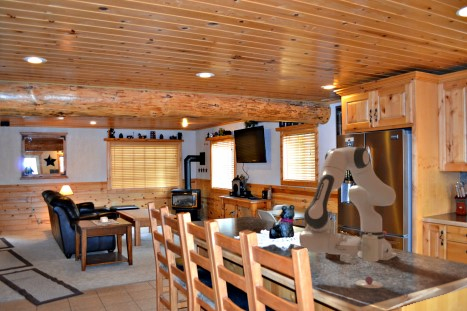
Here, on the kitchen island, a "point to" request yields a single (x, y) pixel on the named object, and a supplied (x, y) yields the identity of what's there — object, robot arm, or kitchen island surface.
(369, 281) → the ball
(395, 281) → the kitchen island surface
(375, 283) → the saucer
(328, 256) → the food container
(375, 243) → the lidded octagonal canister
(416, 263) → the kitchen island surface
